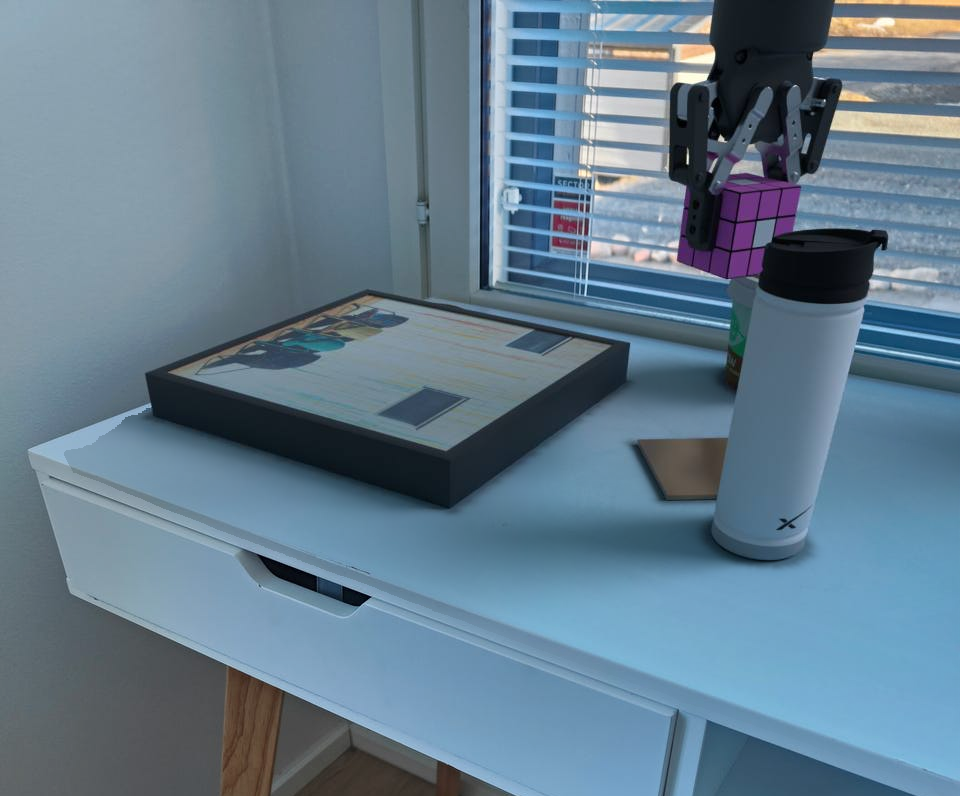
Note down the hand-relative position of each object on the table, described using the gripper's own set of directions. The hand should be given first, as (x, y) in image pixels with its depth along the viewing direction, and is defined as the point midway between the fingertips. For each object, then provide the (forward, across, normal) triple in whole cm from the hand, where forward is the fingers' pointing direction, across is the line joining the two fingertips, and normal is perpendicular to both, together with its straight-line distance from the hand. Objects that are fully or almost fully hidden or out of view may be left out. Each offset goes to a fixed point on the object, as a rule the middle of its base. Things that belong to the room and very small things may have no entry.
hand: (733, 243), depth 68 cm
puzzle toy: (+2, 0, 0) cm, 2 cm away
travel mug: (+16, -8, -14) cm, 23 cm away
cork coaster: (+15, -3, -5) cm, 16 cm away
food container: (+16, +13, +8) cm, 22 cm away
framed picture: (+16, -17, +20) cm, 31 cm away
